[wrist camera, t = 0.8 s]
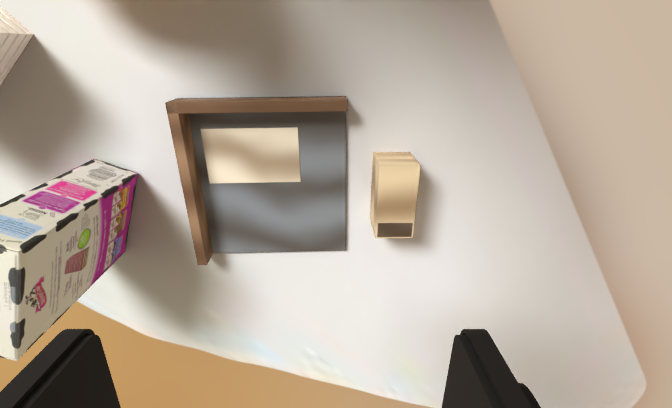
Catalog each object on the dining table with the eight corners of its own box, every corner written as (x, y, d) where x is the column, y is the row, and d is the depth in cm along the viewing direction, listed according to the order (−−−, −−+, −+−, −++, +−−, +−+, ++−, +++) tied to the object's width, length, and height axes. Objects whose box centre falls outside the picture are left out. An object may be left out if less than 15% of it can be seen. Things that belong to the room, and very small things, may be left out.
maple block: (373, 151, 39) (379, 166, 34) (409, 151, 39) (420, 166, 34) (369, 217, 42) (375, 238, 37) (403, 217, 42) (412, 238, 37)
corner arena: (177, 98, 35) (165, 102, 33) (345, 96, 36) (347, 100, 33) (206, 251, 43) (198, 265, 40) (345, 247, 43) (346, 261, 40)
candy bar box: (91, 156, 38) (-63, 228, 23) (139, 171, 39) (21, 251, 24) (82, 241, 42) (-53, 349, 27) (125, 253, 43) (18, 365, 28)
